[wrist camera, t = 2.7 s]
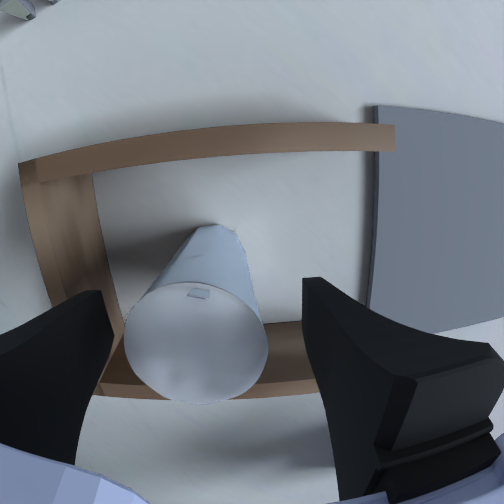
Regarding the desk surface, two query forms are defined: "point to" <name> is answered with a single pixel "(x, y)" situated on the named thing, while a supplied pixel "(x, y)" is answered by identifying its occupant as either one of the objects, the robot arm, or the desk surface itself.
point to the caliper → (20, 8)
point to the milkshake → (199, 323)
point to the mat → (438, 221)
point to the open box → (92, 246)
